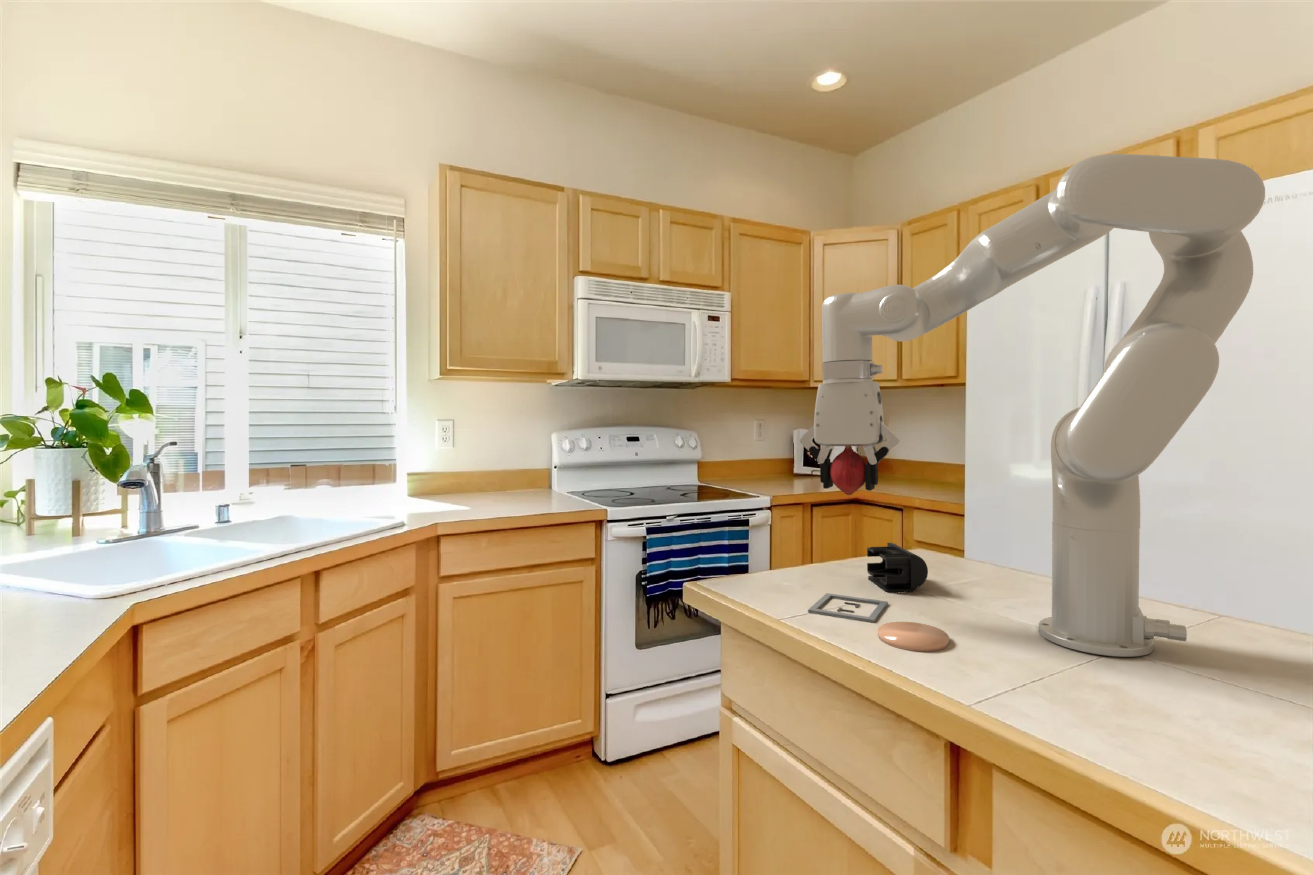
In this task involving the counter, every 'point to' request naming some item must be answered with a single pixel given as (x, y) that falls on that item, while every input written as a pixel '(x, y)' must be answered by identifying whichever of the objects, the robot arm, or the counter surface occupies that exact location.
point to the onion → (848, 471)
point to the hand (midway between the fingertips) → (848, 487)
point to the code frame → (871, 618)
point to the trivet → (913, 636)
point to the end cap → (896, 569)
